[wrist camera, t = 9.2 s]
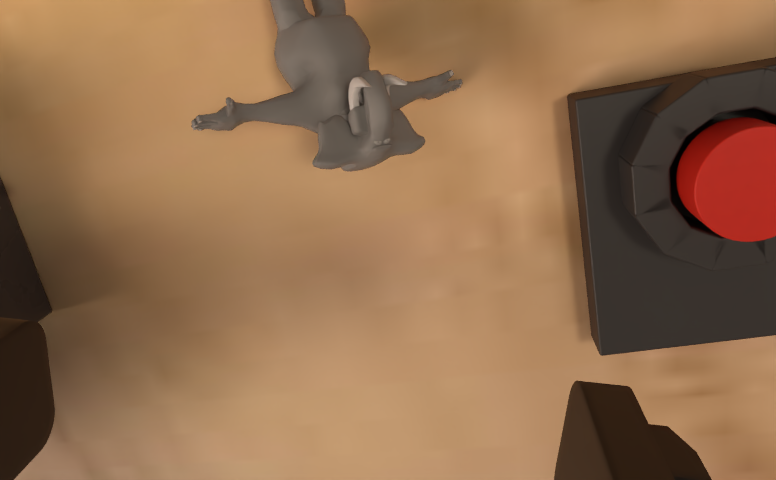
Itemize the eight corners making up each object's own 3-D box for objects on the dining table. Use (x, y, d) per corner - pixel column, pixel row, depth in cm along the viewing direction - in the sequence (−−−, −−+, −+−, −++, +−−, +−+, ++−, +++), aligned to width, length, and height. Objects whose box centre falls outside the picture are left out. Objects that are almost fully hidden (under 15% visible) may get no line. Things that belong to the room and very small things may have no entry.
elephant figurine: (444, -135, 22) (533, 116, 21) (367, -31, 27) (436, 173, 26) (139, -159, 17) (243, 171, 16) (117, -26, 22) (194, 228, 21)
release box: (825, 307, 25) (881, 350, 22) (591, 336, 27) (611, 381, 23) (831, 39, 22) (898, 44, 19) (565, 87, 24) (584, 99, 20)
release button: (792, 216, 21) (820, 233, 20) (677, 232, 22) (696, 250, 20) (792, 107, 20) (823, 115, 18) (672, 127, 21) (691, 137, 19)
